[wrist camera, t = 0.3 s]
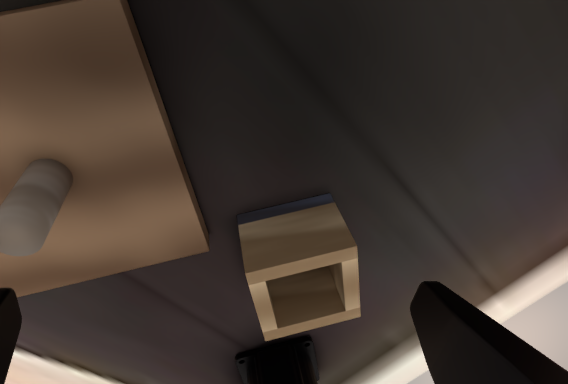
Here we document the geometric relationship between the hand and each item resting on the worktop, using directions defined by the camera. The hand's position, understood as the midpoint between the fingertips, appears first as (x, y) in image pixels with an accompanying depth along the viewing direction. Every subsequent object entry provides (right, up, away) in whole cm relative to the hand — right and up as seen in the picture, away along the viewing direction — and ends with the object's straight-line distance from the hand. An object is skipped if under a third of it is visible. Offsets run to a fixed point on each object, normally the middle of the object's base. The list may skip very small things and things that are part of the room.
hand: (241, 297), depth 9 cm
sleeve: (+1, -1, +17) cm, 17 cm away
